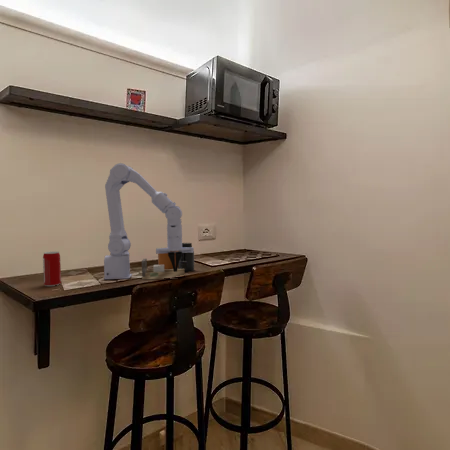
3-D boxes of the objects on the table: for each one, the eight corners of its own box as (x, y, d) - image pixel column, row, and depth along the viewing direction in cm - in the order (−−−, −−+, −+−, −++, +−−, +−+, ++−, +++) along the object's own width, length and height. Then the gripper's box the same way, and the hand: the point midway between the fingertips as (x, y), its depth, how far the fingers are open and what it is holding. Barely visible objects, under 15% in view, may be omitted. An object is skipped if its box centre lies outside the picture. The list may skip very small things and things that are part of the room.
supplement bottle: (179, 272, 149) (178, 244, 148) (177, 270, 155) (176, 242, 155) (195, 271, 151) (195, 243, 150) (192, 269, 157) (192, 242, 157)
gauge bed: (142, 279, 134) (141, 261, 134) (143, 276, 141) (143, 258, 141) (184, 277, 136) (184, 259, 136) (184, 274, 143) (184, 257, 143)
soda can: (63, 284, 127) (62, 251, 127) (47, 287, 123) (46, 252, 123) (57, 282, 131) (56, 250, 130) (41, 285, 127) (40, 251, 126)
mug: (171, 271, 154) (170, 250, 153) (154, 268, 162) (153, 248, 161) (186, 268, 160) (186, 248, 160) (170, 265, 168) (169, 246, 168)
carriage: (153, 275, 136) (153, 266, 136) (154, 273, 141) (153, 264, 140) (164, 275, 137) (163, 266, 137) (164, 273, 141) (164, 264, 141)
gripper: (155, 238, 134) (156, 273, 135) (193, 237, 136) (194, 272, 136) (156, 236, 141) (157, 270, 142) (192, 235, 143) (193, 269, 143)
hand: (175, 271), depth 139 cm, fingers closed
